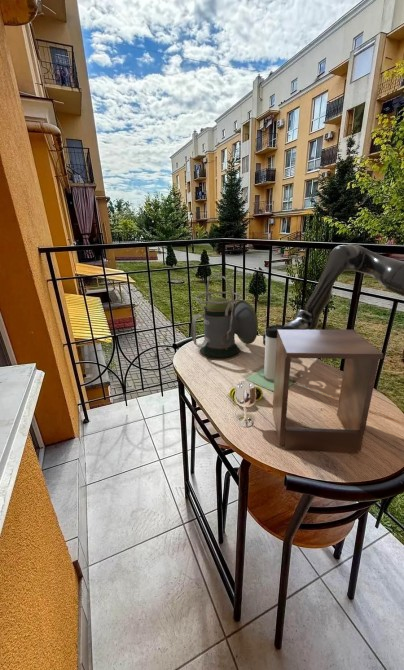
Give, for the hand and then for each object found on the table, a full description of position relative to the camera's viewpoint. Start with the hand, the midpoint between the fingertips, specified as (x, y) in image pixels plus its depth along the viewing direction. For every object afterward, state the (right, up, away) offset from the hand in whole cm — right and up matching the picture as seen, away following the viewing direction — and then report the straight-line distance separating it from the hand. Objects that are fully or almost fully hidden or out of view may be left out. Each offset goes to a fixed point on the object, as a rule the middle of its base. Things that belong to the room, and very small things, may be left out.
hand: (275, 345), depth 98 cm
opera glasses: (-12, -17, -8) cm, 23 cm away
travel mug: (0, -12, +3) cm, 13 cm away
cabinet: (+4, -22, -22) cm, 32 cm away
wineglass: (-14, -21, -18) cm, 31 cm away
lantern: (-14, -3, +31) cm, 34 cm away
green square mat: (0, -13, +4) cm, 13 cm away
